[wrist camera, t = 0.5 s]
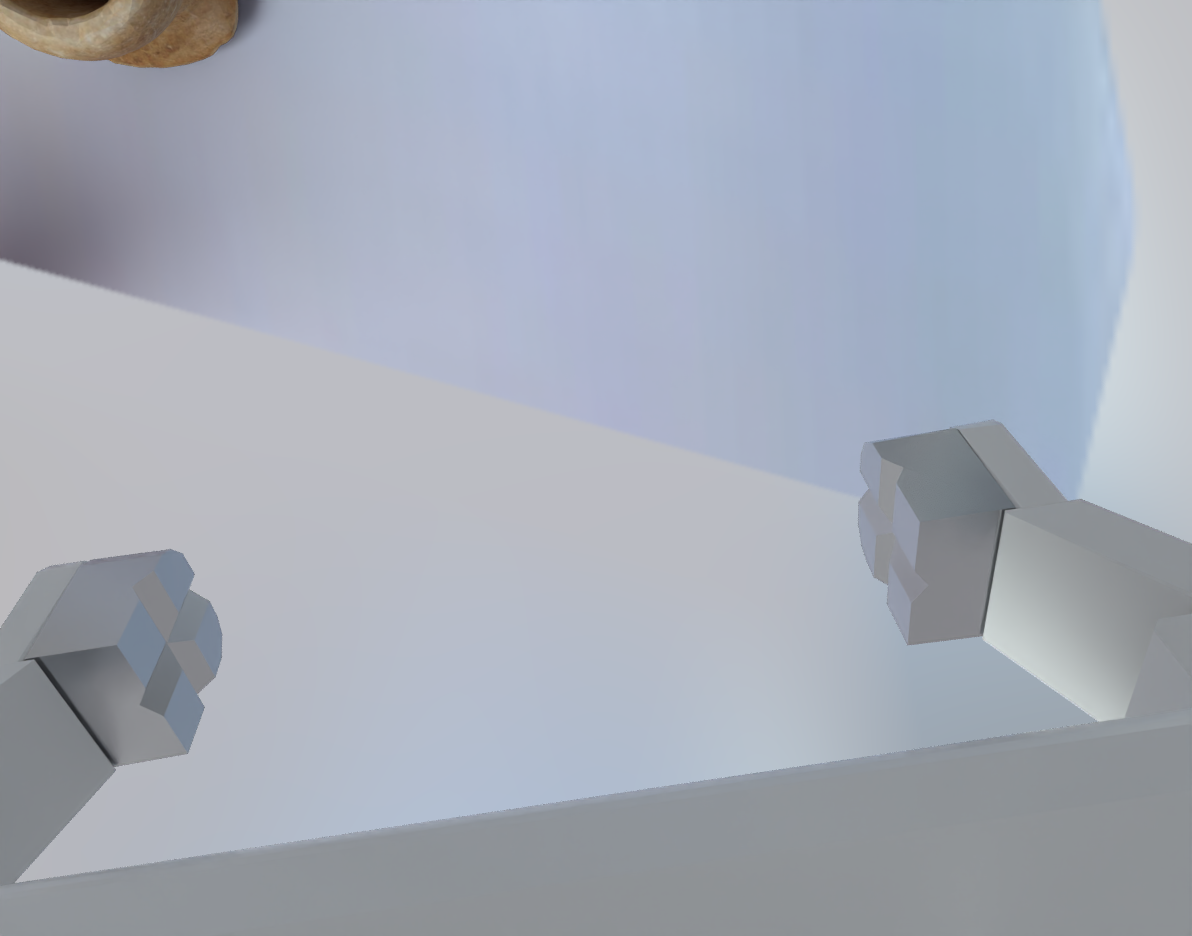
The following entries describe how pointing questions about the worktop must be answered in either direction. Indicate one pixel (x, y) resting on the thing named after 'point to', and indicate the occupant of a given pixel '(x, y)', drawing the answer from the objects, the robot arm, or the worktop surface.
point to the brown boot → (122, 29)
